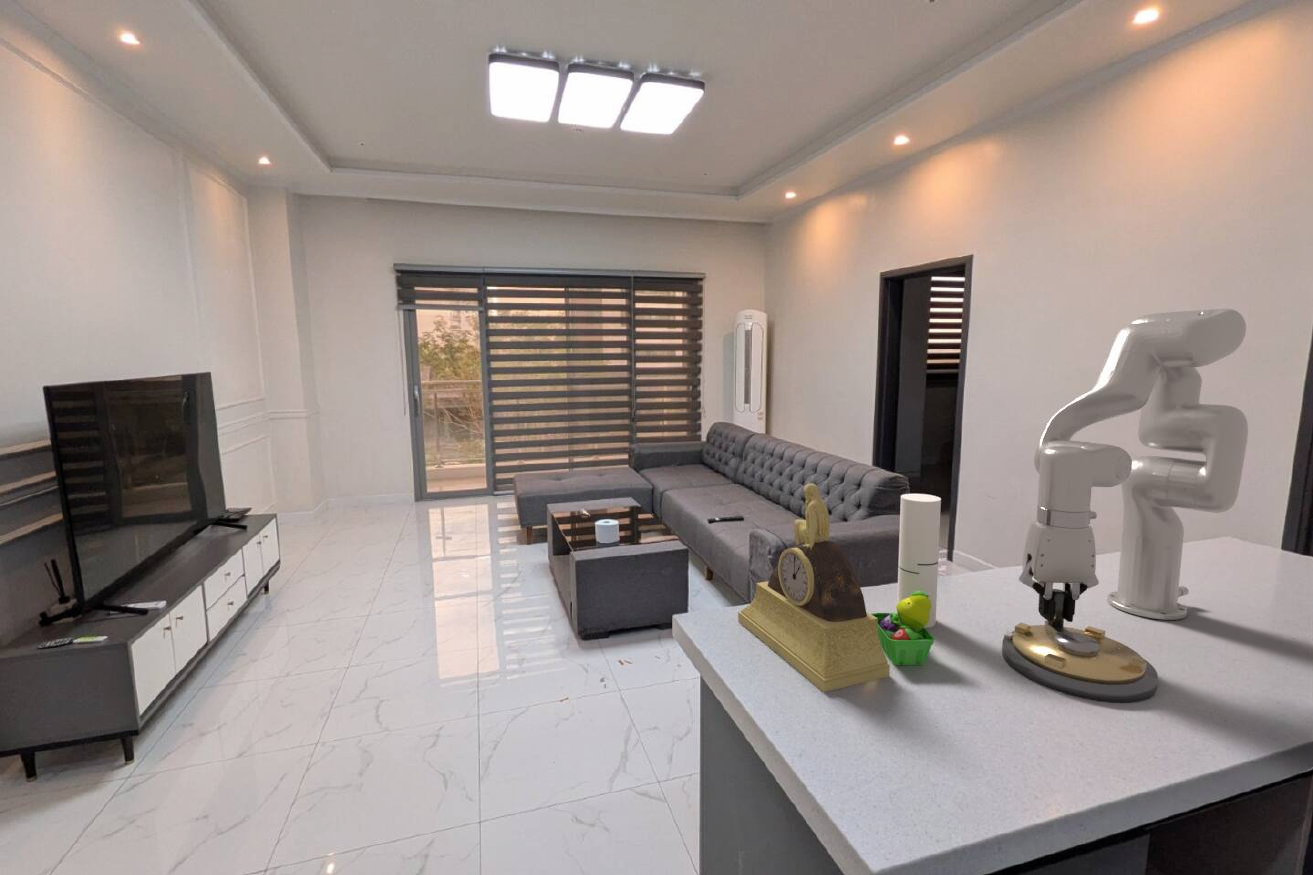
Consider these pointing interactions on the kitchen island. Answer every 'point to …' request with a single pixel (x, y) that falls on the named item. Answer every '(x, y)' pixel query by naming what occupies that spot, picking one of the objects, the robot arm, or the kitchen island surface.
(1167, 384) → the robot arm
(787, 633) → the decorative clock
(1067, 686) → the cap plate
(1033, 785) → the kitchen island surface
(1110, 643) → the gold dial with handle
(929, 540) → the cylindrical container
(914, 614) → the fruit basket
